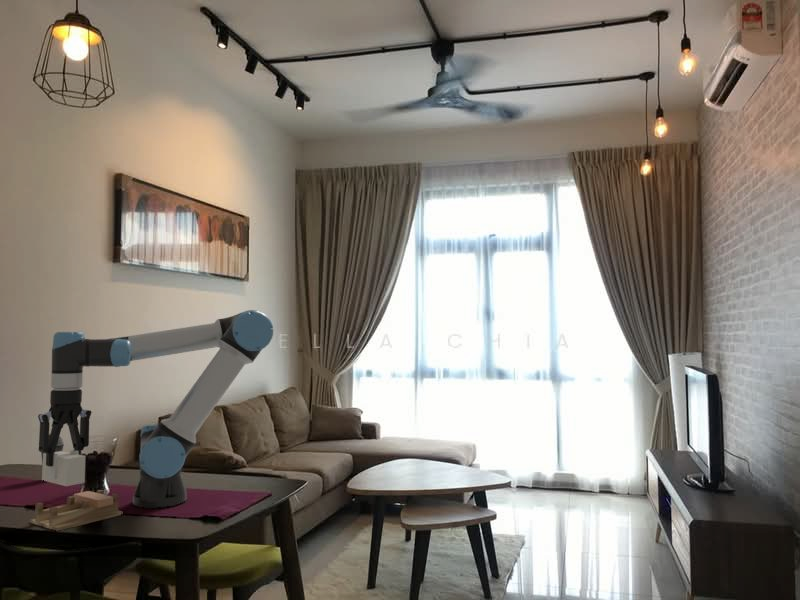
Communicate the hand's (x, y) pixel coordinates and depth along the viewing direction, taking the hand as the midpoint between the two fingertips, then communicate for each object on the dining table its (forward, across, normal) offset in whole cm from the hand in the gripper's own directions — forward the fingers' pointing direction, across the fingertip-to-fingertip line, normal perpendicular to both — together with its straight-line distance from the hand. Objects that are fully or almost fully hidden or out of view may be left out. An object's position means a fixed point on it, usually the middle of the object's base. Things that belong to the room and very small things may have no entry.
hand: (63, 476), depth 172 cm
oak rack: (+12, -4, 0) cm, 13 cm away
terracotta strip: (+9, -9, 0) cm, 12 cm away
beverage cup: (+12, -25, -52) cm, 59 cm away
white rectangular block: (+1, 0, 0) cm, 1 cm away
